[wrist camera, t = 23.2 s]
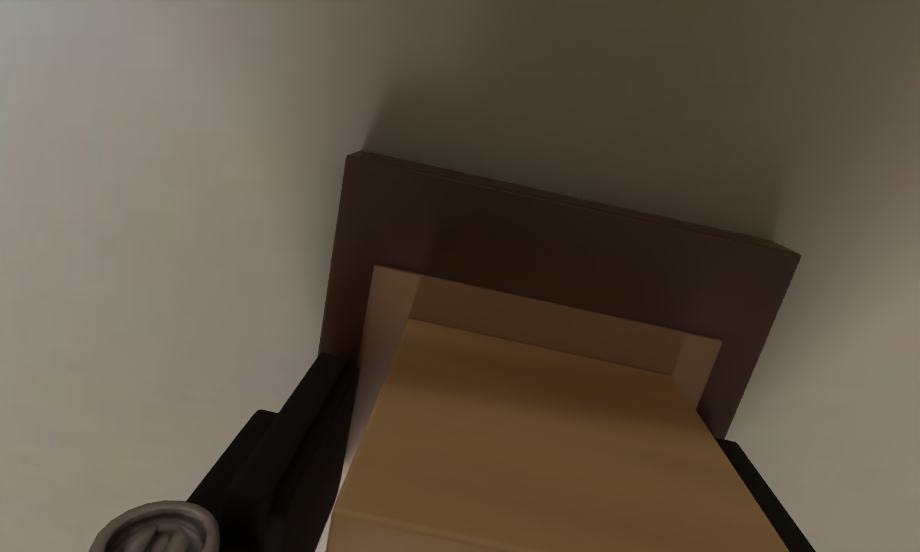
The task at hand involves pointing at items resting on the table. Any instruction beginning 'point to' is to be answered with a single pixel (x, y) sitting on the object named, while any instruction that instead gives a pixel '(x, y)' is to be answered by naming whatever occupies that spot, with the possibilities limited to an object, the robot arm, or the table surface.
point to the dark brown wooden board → (543, 282)
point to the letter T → (536, 458)
